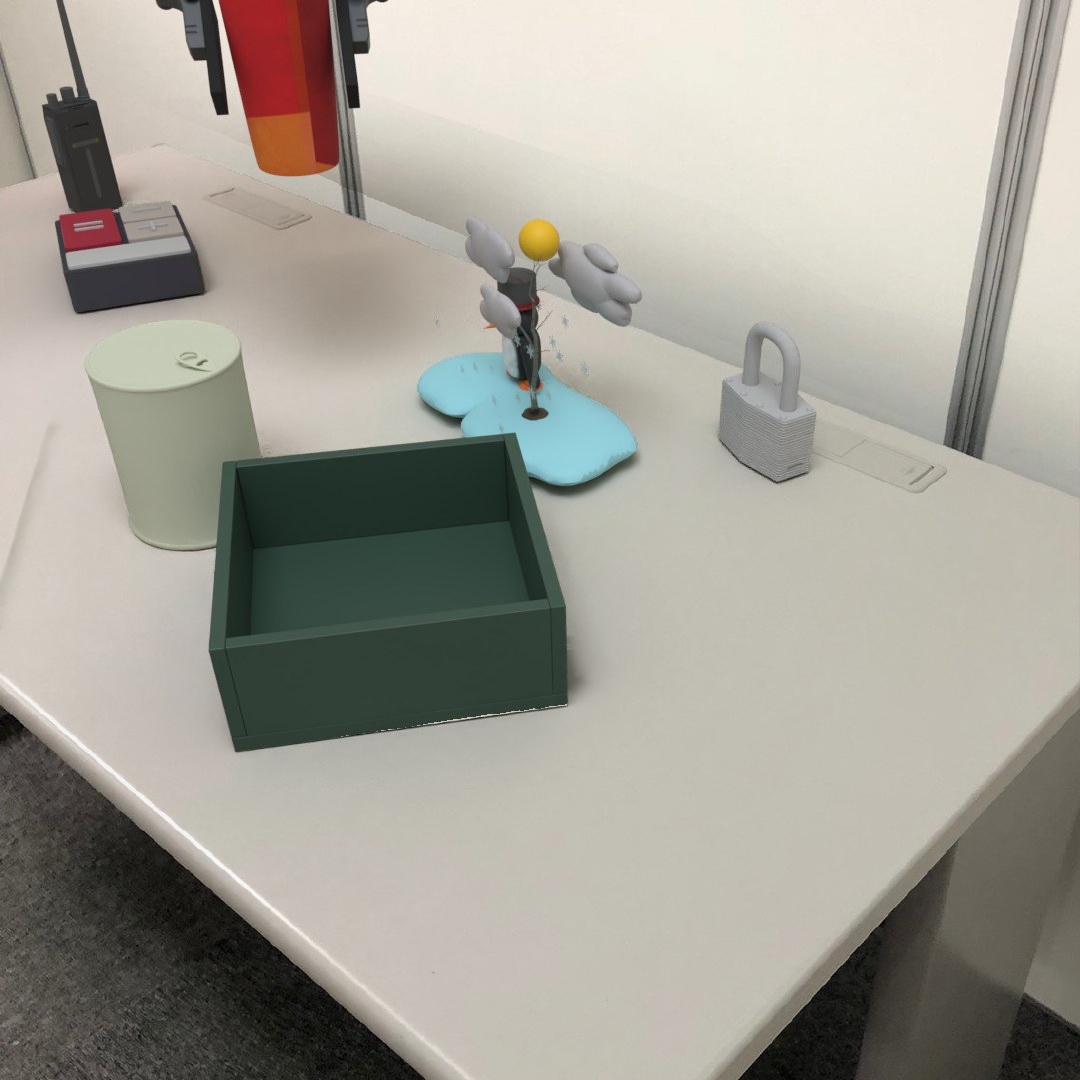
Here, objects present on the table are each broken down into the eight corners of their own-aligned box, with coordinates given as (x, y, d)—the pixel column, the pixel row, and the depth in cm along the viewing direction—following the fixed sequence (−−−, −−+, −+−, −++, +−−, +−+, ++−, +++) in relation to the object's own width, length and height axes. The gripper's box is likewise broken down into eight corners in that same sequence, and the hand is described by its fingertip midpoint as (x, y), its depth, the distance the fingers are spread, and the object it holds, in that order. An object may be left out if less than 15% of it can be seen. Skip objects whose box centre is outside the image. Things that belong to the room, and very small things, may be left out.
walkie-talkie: (109, 197, 125) (54, -17, 113) (125, 205, 123) (72, -11, 111) (65, 209, 122) (4, -8, 110) (81, 218, 121) (21, -2, 108)
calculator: (174, 195, 115) (196, 244, 104) (184, 240, 118) (206, 292, 107) (51, 211, 112) (60, 264, 101) (64, 257, 114) (74, 313, 103)
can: (204, 567, 76) (161, 395, 68) (98, 525, 79) (46, 357, 72) (302, 496, 82) (272, 332, 74) (199, 460, 85) (161, 300, 78)
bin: (234, 752, 63) (207, 650, 59) (243, 556, 76) (222, 461, 72) (568, 706, 66) (566, 605, 62) (520, 525, 79) (515, 432, 75)
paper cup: (324, 137, 88) (294, -83, 79) (375, 167, 83) (349, -64, 74) (221, 158, 84) (178, -70, 75) (268, 190, 79) (227, -49, 70)
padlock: (710, 441, 88) (719, 312, 82) (755, 426, 89) (767, 299, 83) (770, 487, 83) (784, 353, 77) (816, 471, 85) (834, 339, 79)
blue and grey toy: (401, 390, 93) (379, 195, 84) (522, 357, 98) (514, 167, 88) (528, 515, 80) (519, 300, 71) (661, 470, 85) (670, 262, 75)
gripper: (404, -185, 85) (446, 122, 83) (98, -182, 82) (132, 139, 80) (403, -274, 78) (449, 60, 76) (66, -275, 74) (104, 76, 72)
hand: (287, 100), depth 78 cm, fingers closed on paper cup, 8 cm apart
